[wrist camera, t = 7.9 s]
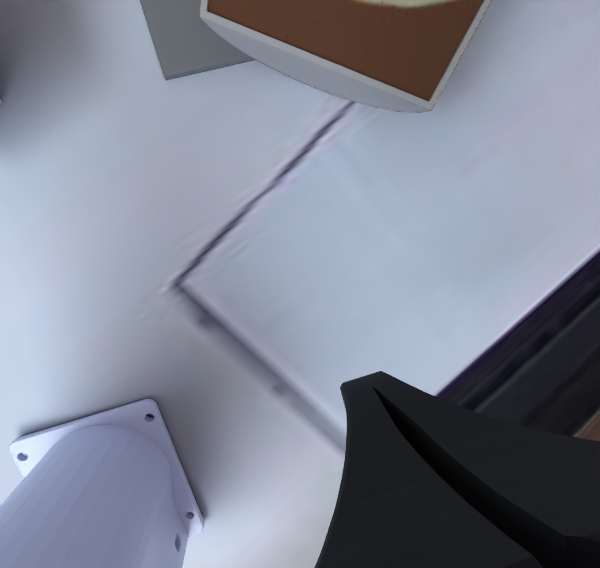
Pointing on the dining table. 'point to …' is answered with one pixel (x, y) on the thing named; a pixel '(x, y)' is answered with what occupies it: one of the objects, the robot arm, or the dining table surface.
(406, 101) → the food container
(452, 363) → the dining table surface
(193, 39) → the mat
